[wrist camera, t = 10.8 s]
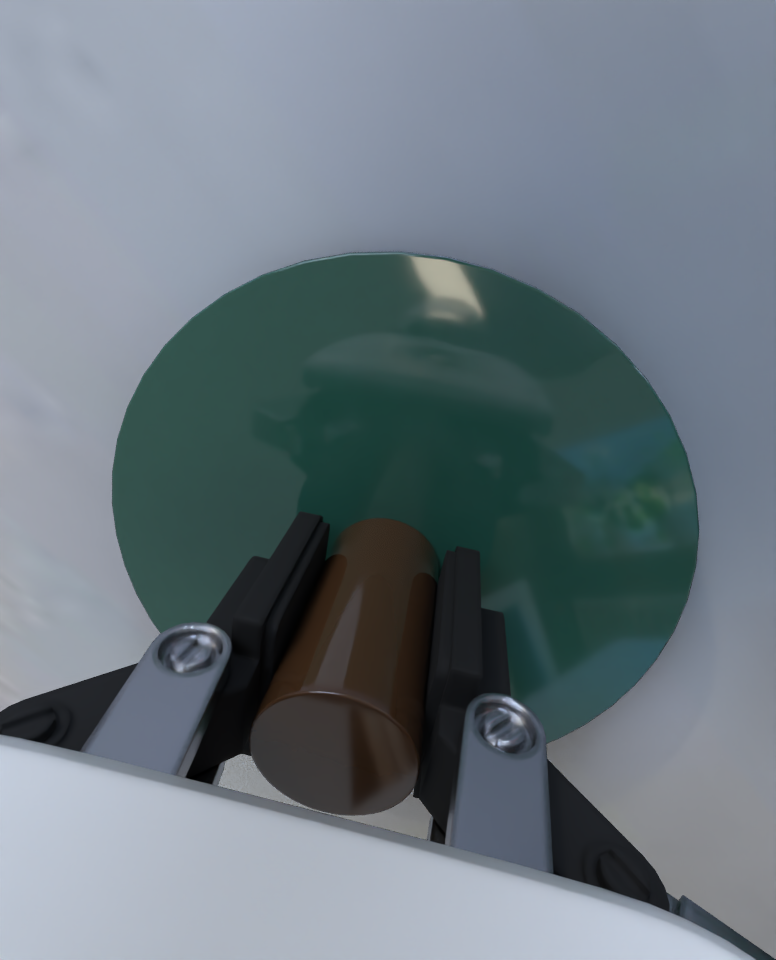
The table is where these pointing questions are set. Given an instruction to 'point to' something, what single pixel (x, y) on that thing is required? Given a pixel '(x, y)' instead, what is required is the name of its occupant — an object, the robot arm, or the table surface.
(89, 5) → the table surface
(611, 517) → the pot lid
